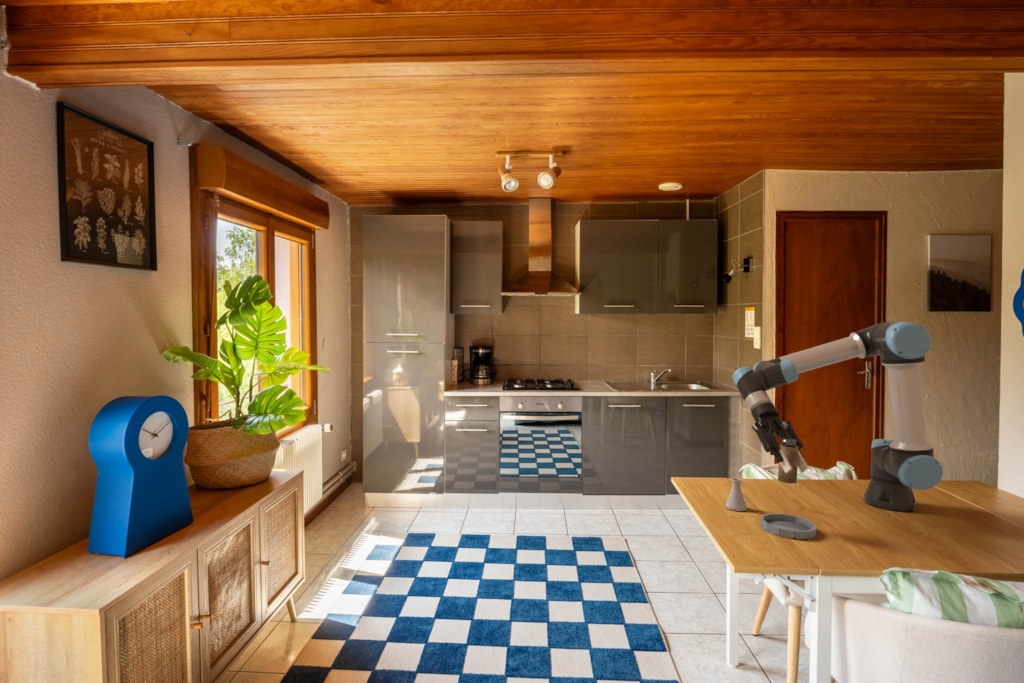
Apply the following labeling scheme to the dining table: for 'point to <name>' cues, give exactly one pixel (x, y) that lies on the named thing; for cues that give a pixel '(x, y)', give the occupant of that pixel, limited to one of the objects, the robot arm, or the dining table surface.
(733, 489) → the flask
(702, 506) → the dining table surface
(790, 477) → the pepper mill
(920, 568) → the dining table surface
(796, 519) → the round grey tray
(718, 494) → the dining table surface
